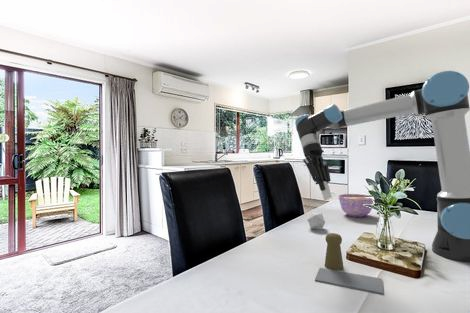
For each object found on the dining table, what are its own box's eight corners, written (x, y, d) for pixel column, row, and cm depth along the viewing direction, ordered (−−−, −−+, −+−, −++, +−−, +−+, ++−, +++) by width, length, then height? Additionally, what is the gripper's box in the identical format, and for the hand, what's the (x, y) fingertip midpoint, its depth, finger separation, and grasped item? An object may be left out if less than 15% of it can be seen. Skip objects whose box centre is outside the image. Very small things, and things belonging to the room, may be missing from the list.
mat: (381, 279, 78) (381, 278, 78) (383, 294, 70) (383, 293, 70) (319, 268, 86) (319, 267, 86) (314, 280, 78) (314, 279, 78)
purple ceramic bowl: (375, 213, 162) (375, 195, 162) (373, 221, 145) (373, 200, 145) (341, 210, 172) (341, 193, 172) (335, 217, 155) (335, 197, 155)
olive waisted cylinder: (331, 271, 84) (331, 237, 84) (321, 263, 90) (320, 232, 90) (347, 268, 86) (347, 235, 86) (335, 261, 92) (335, 230, 92)
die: (326, 228, 134) (317, 211, 139) (330, 224, 127) (320, 206, 131) (312, 235, 133) (303, 218, 138) (315, 231, 126) (305, 213, 130)
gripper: (315, 154, 116) (331, 204, 104) (294, 148, 110) (308, 200, 97) (328, 145, 111) (346, 196, 99) (306, 138, 105) (323, 192, 92)
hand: (327, 198), depth 98 cm, fingers closed
